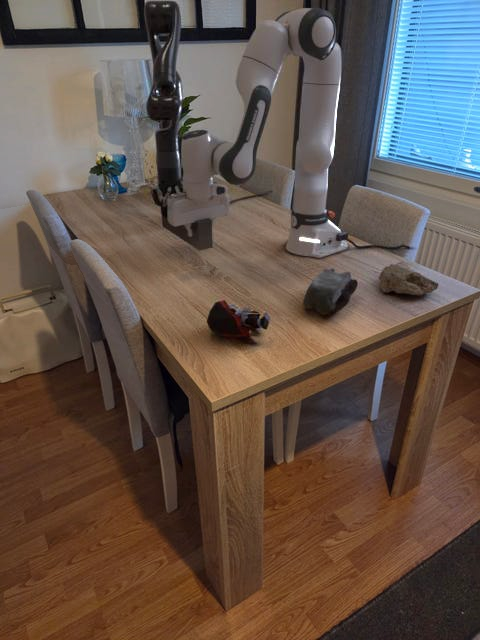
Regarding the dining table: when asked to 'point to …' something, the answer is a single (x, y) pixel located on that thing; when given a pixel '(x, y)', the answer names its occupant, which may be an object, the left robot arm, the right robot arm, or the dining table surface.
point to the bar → (201, 230)
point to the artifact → (405, 280)
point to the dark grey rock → (330, 292)
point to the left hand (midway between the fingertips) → (172, 215)
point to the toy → (235, 321)
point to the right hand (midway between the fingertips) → (200, 233)
